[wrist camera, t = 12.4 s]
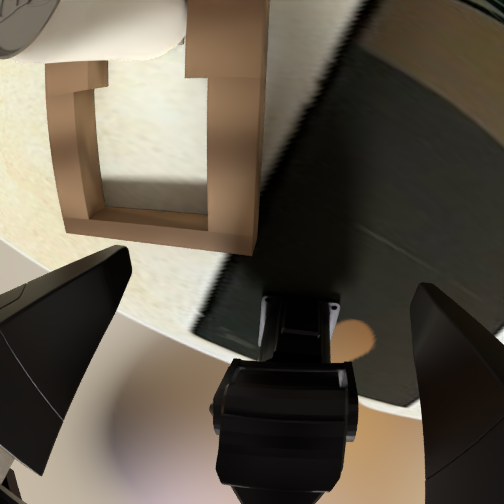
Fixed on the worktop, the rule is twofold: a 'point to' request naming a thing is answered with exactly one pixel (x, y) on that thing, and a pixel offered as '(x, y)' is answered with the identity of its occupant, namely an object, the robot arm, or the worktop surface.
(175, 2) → the can
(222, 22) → the keyhole plate
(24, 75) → the worktop surface
